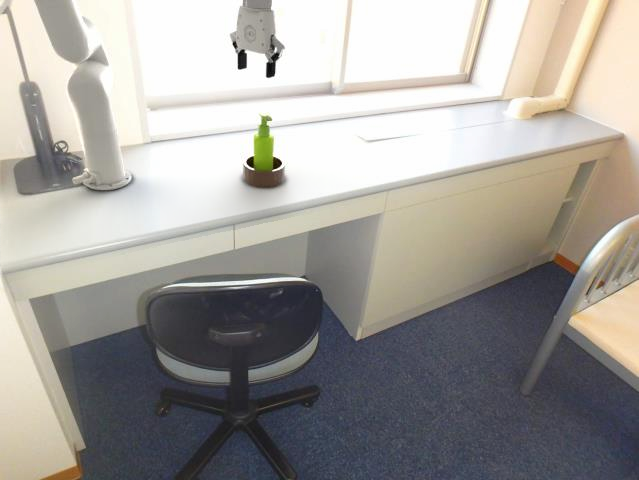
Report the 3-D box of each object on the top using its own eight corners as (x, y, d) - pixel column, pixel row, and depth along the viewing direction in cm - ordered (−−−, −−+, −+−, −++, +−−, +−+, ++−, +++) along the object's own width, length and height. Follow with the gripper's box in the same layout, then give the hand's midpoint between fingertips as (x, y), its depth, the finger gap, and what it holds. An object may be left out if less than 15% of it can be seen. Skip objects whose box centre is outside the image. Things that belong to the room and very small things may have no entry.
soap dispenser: (258, 183, 135) (259, 119, 123) (250, 173, 139) (251, 111, 128) (276, 180, 137) (279, 117, 126) (268, 170, 142) (269, 109, 130)
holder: (267, 192, 132) (268, 175, 129) (235, 179, 137) (234, 162, 133) (291, 177, 141) (292, 161, 138) (260, 165, 146) (260, 150, 142)
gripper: (220, -3, 111) (222, 68, 121) (276, 9, 104) (273, 83, 114) (240, -4, 117) (240, 63, 126) (294, 7, 110) (290, 77, 120)
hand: (256, 72), depth 120 cm, fingers open, 9 cm apart
